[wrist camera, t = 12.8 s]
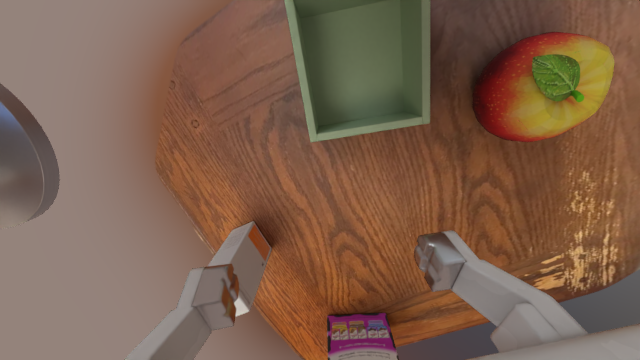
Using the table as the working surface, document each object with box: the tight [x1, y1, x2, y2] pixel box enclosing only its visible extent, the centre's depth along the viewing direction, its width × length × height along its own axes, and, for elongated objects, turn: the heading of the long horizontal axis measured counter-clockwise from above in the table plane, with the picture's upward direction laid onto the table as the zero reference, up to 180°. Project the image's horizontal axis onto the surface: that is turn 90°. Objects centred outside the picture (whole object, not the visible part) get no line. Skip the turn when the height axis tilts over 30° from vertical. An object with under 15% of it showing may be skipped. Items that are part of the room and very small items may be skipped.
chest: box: [284, 0, 430, 142], centre depth 25 cm, size 14×13×7 cm
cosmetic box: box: [207, 221, 272, 317], centre depth 32 cm, size 6×4×12 cm
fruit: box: [473, 32, 614, 142], centre depth 24 cm, size 11×11×10 cm
